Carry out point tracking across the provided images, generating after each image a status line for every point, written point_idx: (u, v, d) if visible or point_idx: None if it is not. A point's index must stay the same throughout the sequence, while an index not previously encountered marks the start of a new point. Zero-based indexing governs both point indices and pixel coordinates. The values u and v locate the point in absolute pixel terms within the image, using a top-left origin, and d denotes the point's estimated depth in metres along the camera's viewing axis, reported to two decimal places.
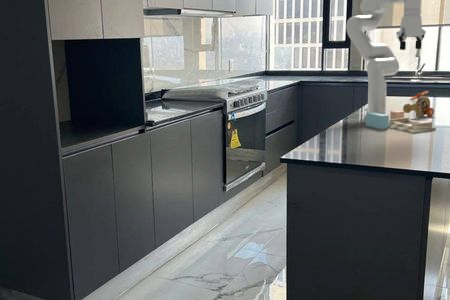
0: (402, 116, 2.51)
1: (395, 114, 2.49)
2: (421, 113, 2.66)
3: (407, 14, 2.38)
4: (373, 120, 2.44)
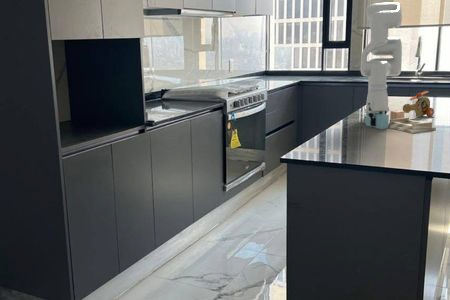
0: (402, 116, 2.51)
1: (395, 114, 2.49)
2: (421, 113, 2.66)
3: (373, 90, 2.38)
4: None
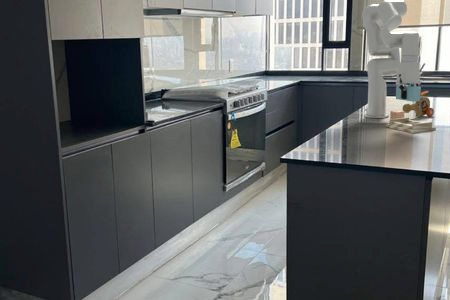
0: (402, 116, 2.51)
1: (395, 114, 2.49)
2: (421, 113, 2.66)
3: (404, 60, 2.29)
4: None
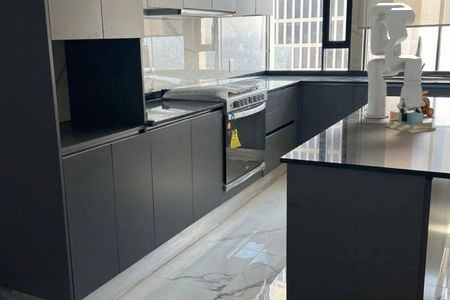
0: None
1: (395, 114, 2.49)
2: None
3: (407, 85, 2.31)
4: None
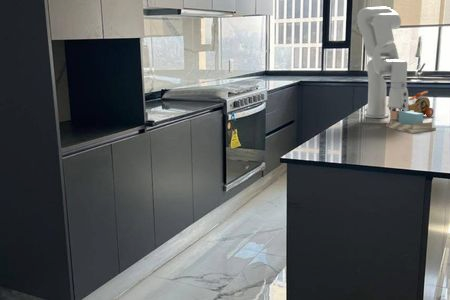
0: None
1: (395, 114, 2.49)
2: None
3: None
4: (406, 119, 2.36)
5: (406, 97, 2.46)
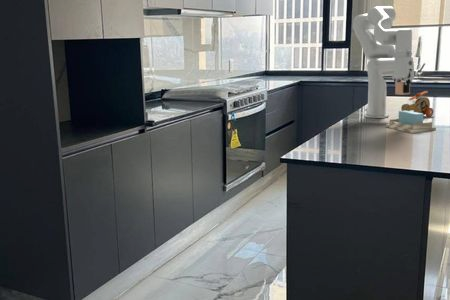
0: None
1: (401, 85, 2.40)
2: None
3: None
4: (406, 119, 2.36)
5: (412, 66, 2.37)
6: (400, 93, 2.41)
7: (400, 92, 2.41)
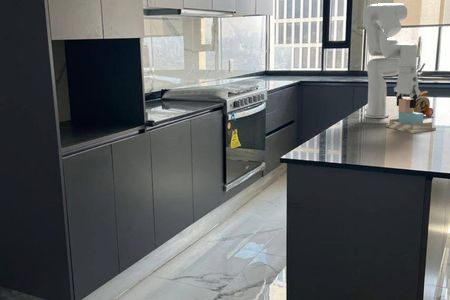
0: None
1: (404, 102, 2.35)
2: None
3: None
4: (406, 119, 2.36)
5: (416, 82, 2.32)
6: (403, 111, 2.37)
7: (403, 110, 2.37)
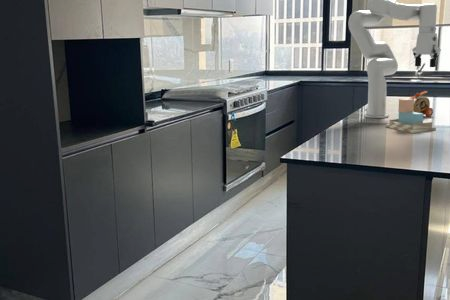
0: (411, 104, 2.37)
1: (404, 102, 2.35)
2: None
3: None
4: (406, 119, 2.36)
5: (435, 42, 2.35)
6: (403, 111, 2.37)
7: (403, 110, 2.37)
